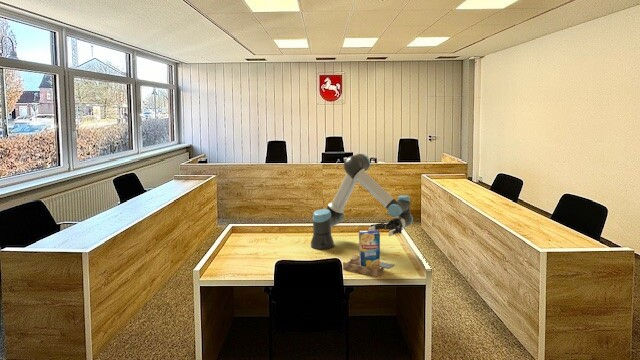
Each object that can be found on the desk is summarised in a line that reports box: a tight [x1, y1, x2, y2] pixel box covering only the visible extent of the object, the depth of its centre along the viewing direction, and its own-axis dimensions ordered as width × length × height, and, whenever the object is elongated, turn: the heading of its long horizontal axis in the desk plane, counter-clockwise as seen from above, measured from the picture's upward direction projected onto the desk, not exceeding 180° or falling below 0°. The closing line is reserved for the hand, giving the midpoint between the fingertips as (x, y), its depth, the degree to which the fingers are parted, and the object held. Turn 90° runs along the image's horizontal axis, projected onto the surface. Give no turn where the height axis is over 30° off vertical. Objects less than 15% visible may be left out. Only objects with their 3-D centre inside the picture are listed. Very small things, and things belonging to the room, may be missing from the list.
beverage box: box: [358, 229, 381, 270], centre depth 299 cm, size 7×11×22 cm, turn 92°
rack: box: [342, 260, 385, 278], centre depth 299 cm, size 22×8×4 cm, turn 54°
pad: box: [380, 261, 395, 269], centre depth 309 cm, size 16×7×1 cm, turn 54°
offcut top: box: [349, 254, 359, 264], centre depth 305 cm, size 3×7×3 cm, turn 154°
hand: (379, 232), depth 305 cm, fingers open, 13 cm apart
